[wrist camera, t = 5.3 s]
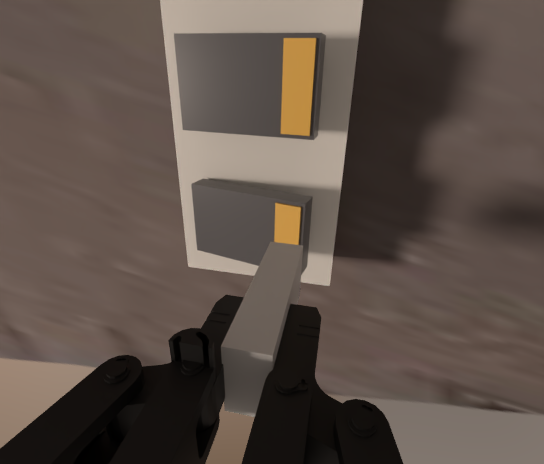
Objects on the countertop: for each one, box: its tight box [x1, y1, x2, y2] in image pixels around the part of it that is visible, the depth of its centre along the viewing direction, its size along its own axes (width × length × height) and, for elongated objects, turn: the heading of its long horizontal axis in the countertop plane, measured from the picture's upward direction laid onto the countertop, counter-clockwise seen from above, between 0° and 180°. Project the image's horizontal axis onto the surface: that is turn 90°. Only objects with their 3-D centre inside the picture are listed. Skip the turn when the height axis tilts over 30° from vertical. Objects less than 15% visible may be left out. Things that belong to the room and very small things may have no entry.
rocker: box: [191, 179, 313, 275], centre depth 19 cm, size 4×7×1 cm, turn 89°
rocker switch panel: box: [160, 0, 363, 286], centre depth 18 cm, size 30×10×4 cm, turn 179°
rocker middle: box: [174, 33, 326, 140], centre depth 16 cm, size 4×7×1 cm, turn 89°
